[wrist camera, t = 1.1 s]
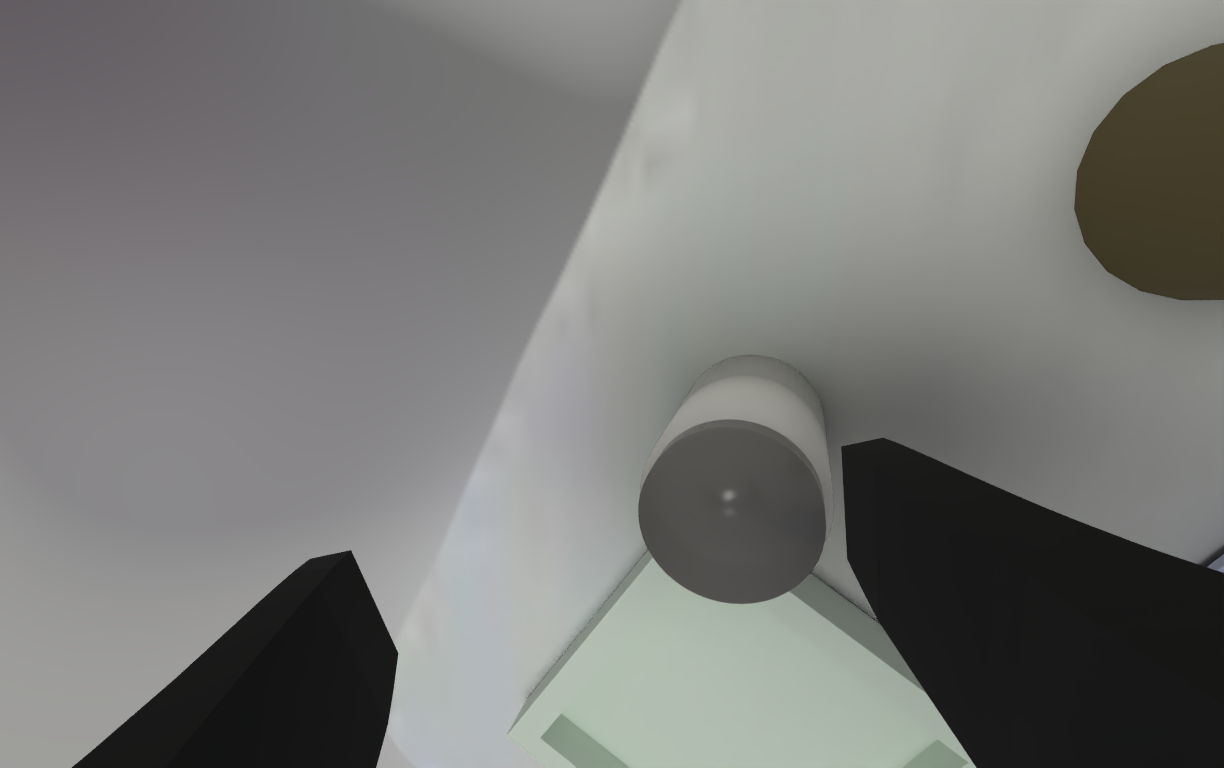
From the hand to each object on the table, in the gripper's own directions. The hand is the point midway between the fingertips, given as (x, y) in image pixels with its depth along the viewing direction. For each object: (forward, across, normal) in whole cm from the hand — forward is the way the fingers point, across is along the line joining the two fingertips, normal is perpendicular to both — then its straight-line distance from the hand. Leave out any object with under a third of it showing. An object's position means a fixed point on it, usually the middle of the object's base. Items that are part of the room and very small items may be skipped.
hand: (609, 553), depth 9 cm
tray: (+8, -2, +15) cm, 17 cm away
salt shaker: (+10, -5, +4) cm, 12 cm away
